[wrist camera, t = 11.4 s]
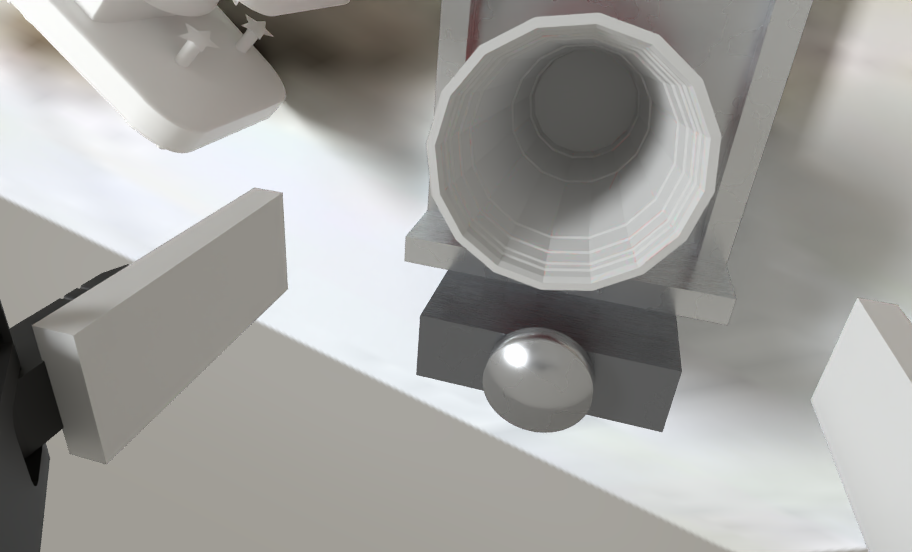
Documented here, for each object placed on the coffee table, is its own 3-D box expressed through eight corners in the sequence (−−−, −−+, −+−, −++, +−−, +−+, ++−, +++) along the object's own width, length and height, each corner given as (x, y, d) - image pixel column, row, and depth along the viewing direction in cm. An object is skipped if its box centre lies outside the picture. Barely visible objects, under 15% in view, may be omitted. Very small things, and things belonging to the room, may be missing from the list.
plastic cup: (612, 235, 36) (601, 346, 26) (455, 134, 36) (380, 205, 26) (744, 69, 31) (798, 126, 20) (560, -52, 30) (519, -56, 20)
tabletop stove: (459, -101, 31) (367, -130, 21) (824, -70, 28) (936, -86, 17) (430, 279, 41) (360, 389, 31) (695, 333, 38) (716, 476, 28)
